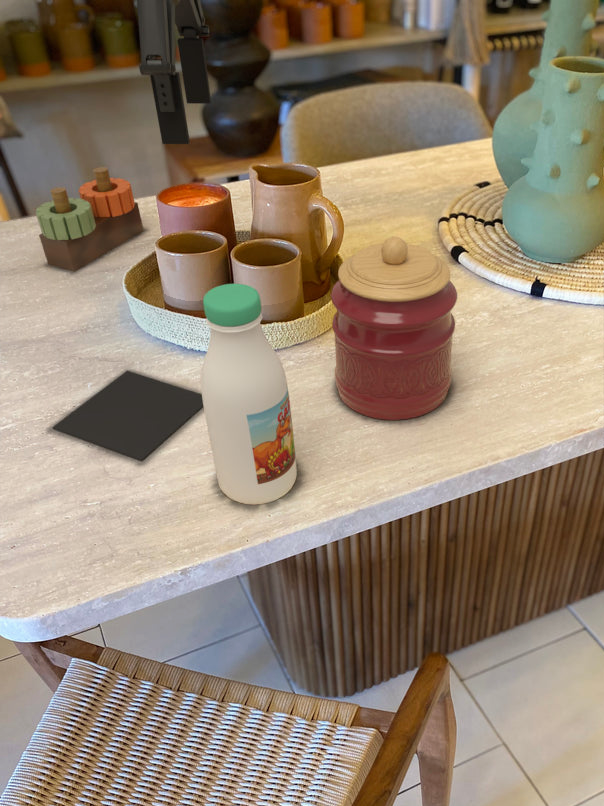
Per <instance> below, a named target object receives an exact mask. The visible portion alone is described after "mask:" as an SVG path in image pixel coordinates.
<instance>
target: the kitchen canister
mask: <svg viewBox="0 0 604 806" xmlns="http://www.w3.org/2000/svg"><path fill="white" fill-rule="evenodd" d="M337 274H338V280H337V281H336V282H334V285H333V286H332V288H331V292H330V298H331V299H330V300H331V303H332V305H333V306H334V308H335V310H336V312H335V313H334V316H333V317H332V321H331V325H332V331H333V333H334V349H335V350H334V352H335V366H334V381H335V386H336V388H337V391H338V395H339V398H340V399H341V401H342V402H343V403H344V404H345V405H346V406H347V407H349V408H350V409H351V410H352V411H355V412H356V413H358V414H360V415H363V416H367V417H369V418H373V419H377V420H378V419H379V420H387V421H400V420H408V419H413V418H417V417H421V416H424V415H426V414H428V413H430V412H432V411H434V410H436V409H437V408H438V407H439V406H441V404H443V402H444V401H445V400H446V398H447V396H448V392H449V389H450V386H451V382H452V374H453V373H452V367H451V365H452V363H451V362H452V349H453V336H454V333H455V330H456V320H455V317H454V314H453V313H452V310H453V309H454V307H455V306H456V304H457V301H458V292H457V289H456V286H455V284H453V282H452V281H451V280H450V279H451V269H450V267H449V264H448V263H446V261H444V260H443V259H442V258H441V257H440V256H438V255H435V254H434V253H433V252H431V251H430V250H429V249H427V248H425V247H423V246H419V245H416V244H412V243H407V242H406V241H405V240H404V239H403V238H402V237H399V236H390V237H387V239H385V241H383V242H382V243H376V244H372V245H369V246H366V247H364V248H362V249H360V250H358V251H357V252H356V253H355V254H352V255H351V256H348V258H346V259H345V260H344V261H343V262H342V263H341V264H340V266H339V268H338V273H337Z"/></svg>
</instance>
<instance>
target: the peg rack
mask: <svg viewBox="0 0 604 806" xmlns="http://www.w3.org/2000/svg"><path fill="white" fill-rule="evenodd" d="M93 175H94V180H96V183H97V187H98V191H99V192H108V191H112V190H113V189H112V185H111V181H110V178H111V177H110V173H109V169H108V167H106V166H99V167H95V168H93ZM50 195H51V198H52V200H53V202H54V205H55V209H56V212H57V214H64V213H69V212H72V210H71V206H70V203H69V199H68V198H69V195H68V193H67V189H66V188H65V187H62V186H60V187H59V186H57V187H54V188H52V189H50ZM134 202H135V206H134V208H133V209H132V210H131V211H129V212H127V213H126V214H125V213H123V215H119V216H115V217H113V216H112V215H111V216H110V217H99V216H98V217H94V219H95V223H96V227H95V229H94V231H92V232H91V233H89V234H88V235H86V236H84V235H82V237H80V238H76V239H71V238H69V240H57V239H56V240H53V239H49V238H47V237H45V236H44V235H43V234H42V233H40V234H38V237H39V240H40V243H41V246H42V250H43V253H44V255H45V258H46V261H47V262H46V263H47V264H48V265H49V266H52V267H55V268H58V269H59V268H60V269H63V270H67V271H71V272H77V271H78V270H80V269H82V268H84V267H85V266H87V265H89V264H90V263H92V262H94V261H96V260H97V259H99V258H100V257H103V256H105V254H107V253H109V252H111V251H113V250H115V249H116V248H117V247H119V246H121V245H122V244H124V243H126V242H128V241H129V240H131V239H133V238H135V237H136V236H137V235H140V234H141V233H143V232H145V230H144V226H143V222H142V217H141V212H140V207H139V203H138V202H136V201H134Z"/></svg>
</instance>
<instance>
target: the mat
mask: <svg viewBox="0 0 604 806" xmlns="http://www.w3.org/2000/svg"><path fill="white" fill-rule="evenodd" d="M202 409H204V406H203V399H202V393H199V392H195V391H193V390H189V389H186V388H183V387H180V386H177V385H173V384H170V383H167V382H164V381H161V380H158V379H154V378H152V377H149V376H145V375H143V374H139V373H137V372H133V371H131V370H130V371H129V370H126V371H125V372H123V373H122V374H121V375H120V376H118V377H116V378H115V379H114V380H113V381H111V382H110V383H109V384H107V385H106V386H105V387H103V388H102V389H101V390H100V391H98V392H97V393H95V394H94V395H93V396H91V397H90V398H89V399H87V400H86V401H85V402H83V404H81V405H80V406H78V407H77V408H76V409H74V410H73V411H72V412H70V413H69V414H68V415H67V416H65V417H64V418H63V419H61V420H59V421H58V422H57V423H56V424H54V425H53V426H52V430H54V431H57V432H60V433H63V434H66V435H68V436H71V437H73V438H76V439H79V440H82V441H84V442H87V443H89V444H93V445H95V446H98V447H100V448H103V449H106V450H109V451H111V452H114V453H116V454H120V455H123V456H125V457H127V458H131V459H133V460H136V461H139V462H144V461H145V460H146V459H147V458H148V457H149V456H150V455H152V454H153V453H154V452H155V451H156V450H158V448H159V447H161V446H162V445H163V444H164V443H165V442H166V441H167V440H168V439H170V438H171V437H172V436H174V434H175V433H176V432H178V430H180V429H181V428H182V427H183V426H184V425H186V423H188V421H190V420H191V419H192V418H193V417H194V416H196V415H197V413H199V412H200V411H201V410H202Z"/></svg>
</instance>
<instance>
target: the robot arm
mask: <svg viewBox="0 0 604 806" xmlns="http://www.w3.org/2000/svg"><path fill="white" fill-rule="evenodd" d="M136 7H137V8H136V9H137V21H138V35H139V49H140V64H139V65H138V66H139V72H140V75H141V76H149V77H150V82H151V87H152V89H151V90H152V93H153V100H154V105H155V111H156V116H157V121H158V128H159V134H160V138H161V144H162V145H189V144H190V142H191V141H190V140H191V139H190V134H189V133H190V132H189V127H188V122H187V121H188V120H187V114H186V109H185V102H184V95H183V88H184V94H185V100H186V104H195V105H196V104H201V105H203V104H206V105H207V104H209V105H210V104H211V103H212V97H211V91H210V90H211V88H210V83H209V75H208V67H207V59H206V51H205V44H204V38H203V37H210V26H209V24H205V23H206V18H205V17H204V16H205V15H204V12H203V8H202V3H201V0H136ZM176 30H177V32H178V35H179V37H178V38H177V39H176ZM200 37H201V38H200ZM176 41H177V47H178V54H179V62H180V68H181V73H182V74H181V75H182V80H183V88H182V83H181V76H180V72H179V71H177V68H176Z"/></svg>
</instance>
